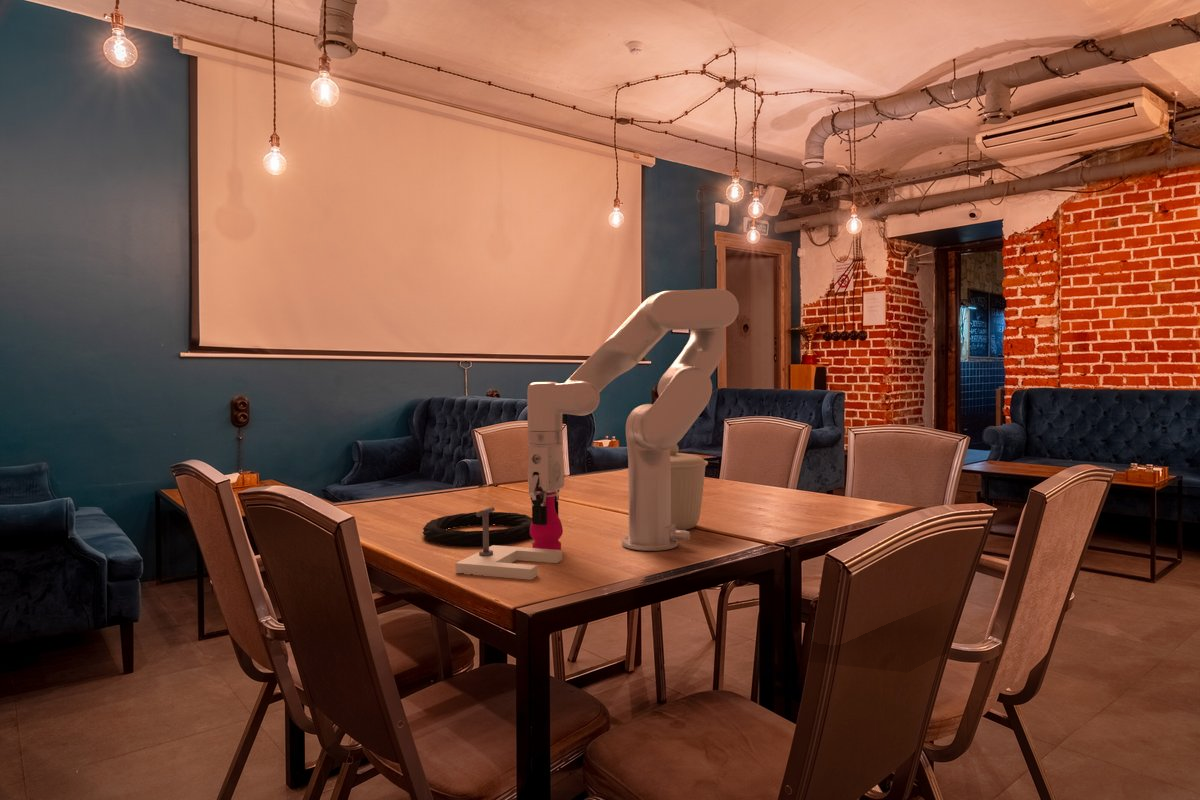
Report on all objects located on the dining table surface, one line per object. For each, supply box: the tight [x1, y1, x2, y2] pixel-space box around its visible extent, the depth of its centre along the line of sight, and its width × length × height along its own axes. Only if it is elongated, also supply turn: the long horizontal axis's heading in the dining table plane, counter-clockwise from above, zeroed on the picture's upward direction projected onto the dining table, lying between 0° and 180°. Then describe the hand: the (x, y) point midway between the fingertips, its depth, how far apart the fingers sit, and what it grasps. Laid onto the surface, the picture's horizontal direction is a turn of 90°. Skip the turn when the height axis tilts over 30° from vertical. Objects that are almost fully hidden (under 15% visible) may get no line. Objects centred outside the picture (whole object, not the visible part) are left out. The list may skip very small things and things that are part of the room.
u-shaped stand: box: [455, 506, 563, 581], centre depth 153 cm, size 16×16×11 cm
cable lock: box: [422, 511, 532, 547], centre depth 184 cm, size 28×4×30 cm
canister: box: [669, 444, 709, 530], centre depth 190 cm, size 18×18×21 cm
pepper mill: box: [530, 477, 564, 550], centre depth 166 cm, size 7×7×20 cm
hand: (545, 520), depth 166 cm, fingers closed on pepper mill, 5 cm apart
